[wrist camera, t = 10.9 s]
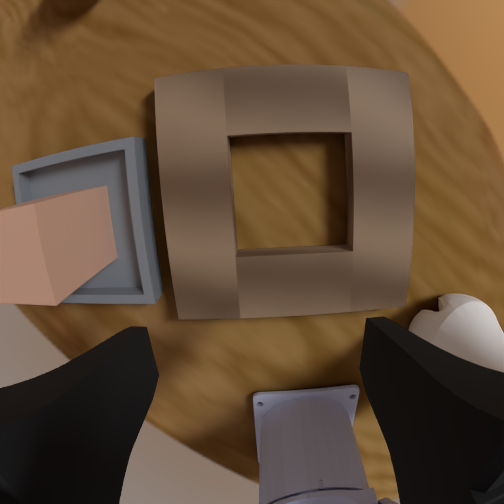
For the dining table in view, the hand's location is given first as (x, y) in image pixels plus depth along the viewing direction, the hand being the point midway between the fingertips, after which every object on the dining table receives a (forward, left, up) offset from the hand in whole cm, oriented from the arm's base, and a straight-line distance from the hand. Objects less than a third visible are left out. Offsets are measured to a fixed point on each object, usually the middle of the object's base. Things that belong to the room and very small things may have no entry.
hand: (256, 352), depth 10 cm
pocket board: (+4, -2, -9) cm, 10 cm away
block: (+3, +11, -9) cm, 14 cm away
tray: (+3, +11, -9) cm, 15 cm away
